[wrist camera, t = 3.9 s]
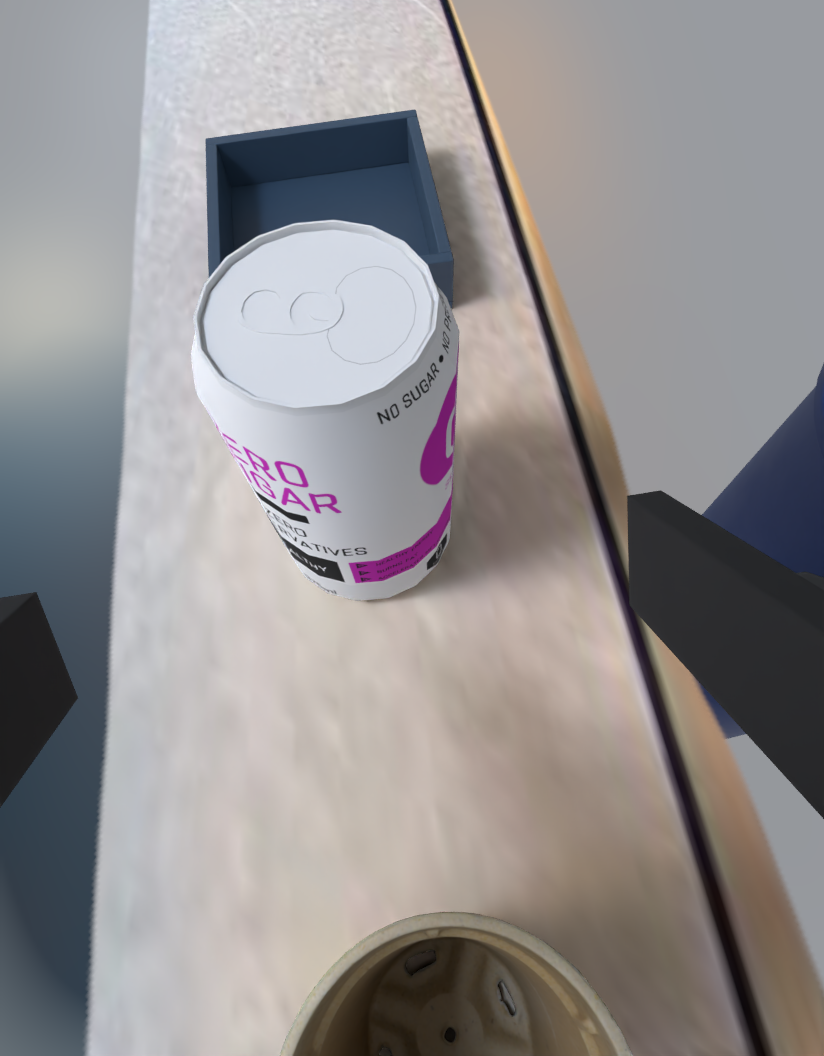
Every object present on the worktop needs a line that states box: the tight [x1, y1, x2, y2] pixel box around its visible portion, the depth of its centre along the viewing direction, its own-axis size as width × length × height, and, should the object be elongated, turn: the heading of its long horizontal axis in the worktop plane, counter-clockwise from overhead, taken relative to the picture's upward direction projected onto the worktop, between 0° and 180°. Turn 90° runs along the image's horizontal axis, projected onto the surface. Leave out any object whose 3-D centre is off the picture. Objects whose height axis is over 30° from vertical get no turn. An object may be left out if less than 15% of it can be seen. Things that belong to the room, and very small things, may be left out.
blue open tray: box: [206, 110, 454, 308], centre depth 38 cm, size 13×13×4 cm
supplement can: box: [191, 220, 459, 601], centre depth 24 cm, size 8×8×15 cm
